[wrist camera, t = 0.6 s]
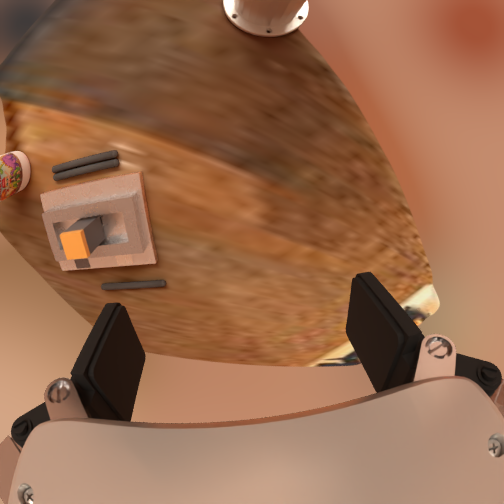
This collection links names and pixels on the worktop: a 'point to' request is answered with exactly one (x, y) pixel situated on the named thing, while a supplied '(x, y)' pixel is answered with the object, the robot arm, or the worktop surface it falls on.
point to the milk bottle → (13, 173)
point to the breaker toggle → (82, 237)
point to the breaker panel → (103, 221)
